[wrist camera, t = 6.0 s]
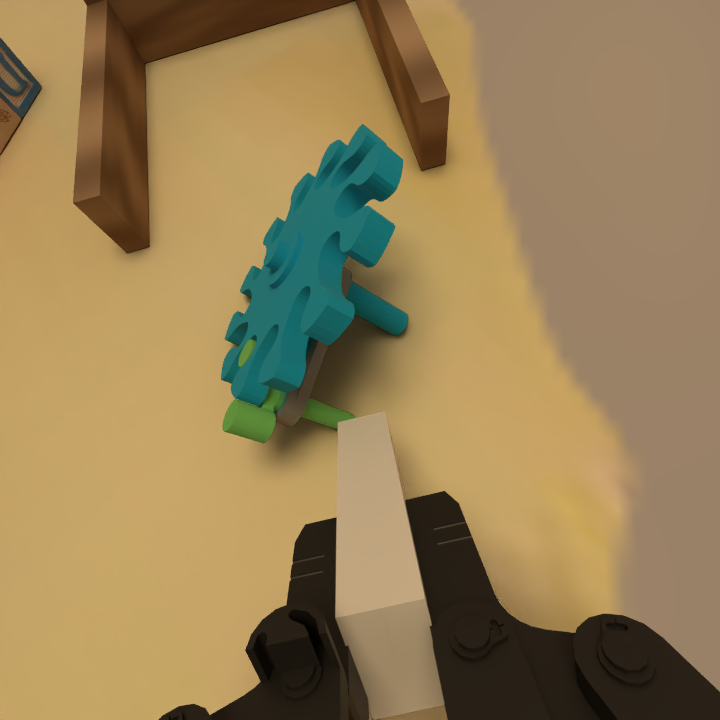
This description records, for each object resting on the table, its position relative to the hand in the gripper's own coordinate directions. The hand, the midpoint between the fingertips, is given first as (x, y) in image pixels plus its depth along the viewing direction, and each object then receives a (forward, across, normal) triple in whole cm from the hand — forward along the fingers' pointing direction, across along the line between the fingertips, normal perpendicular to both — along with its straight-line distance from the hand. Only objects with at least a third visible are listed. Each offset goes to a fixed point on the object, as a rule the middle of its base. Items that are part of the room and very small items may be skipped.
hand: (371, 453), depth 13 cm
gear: (+6, -1, +3) cm, 7 cm away
